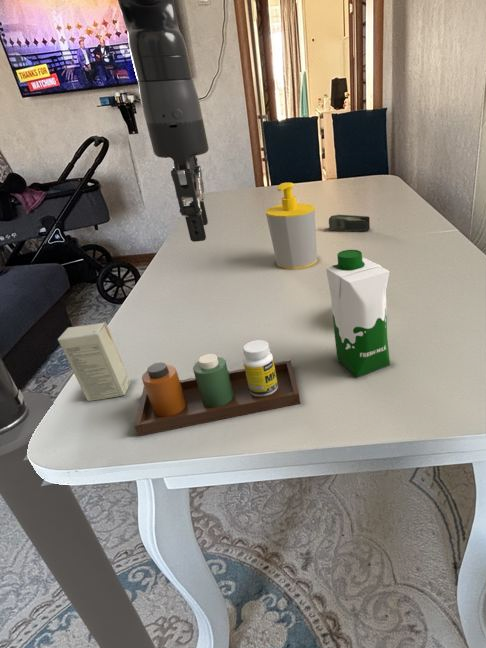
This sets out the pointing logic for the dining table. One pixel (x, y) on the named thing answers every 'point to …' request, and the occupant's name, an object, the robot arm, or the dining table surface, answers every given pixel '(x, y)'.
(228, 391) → the green bottle
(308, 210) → the soap bottle
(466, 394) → the dining table surface
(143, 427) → the tray
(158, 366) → the amber bottle
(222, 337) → the dining table surface
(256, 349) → the supplement bottle
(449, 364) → the dining table surface
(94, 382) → the cosmetic box
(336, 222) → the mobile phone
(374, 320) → the milk carton
